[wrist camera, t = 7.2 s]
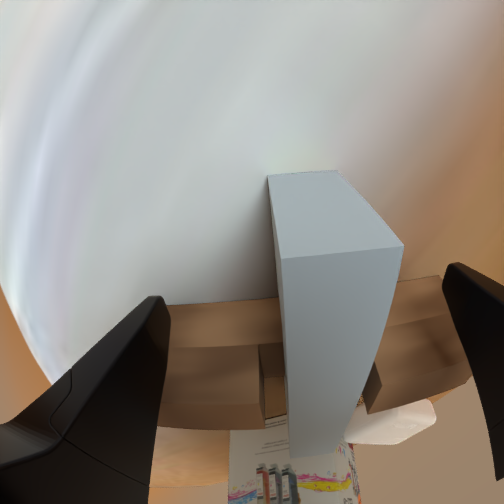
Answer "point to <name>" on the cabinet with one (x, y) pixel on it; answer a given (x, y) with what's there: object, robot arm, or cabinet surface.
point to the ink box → (288, 470)
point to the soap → (389, 423)
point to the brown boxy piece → (272, 358)
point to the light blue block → (328, 300)
